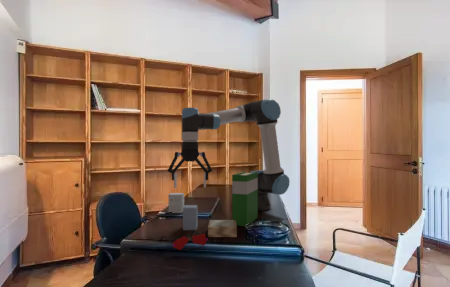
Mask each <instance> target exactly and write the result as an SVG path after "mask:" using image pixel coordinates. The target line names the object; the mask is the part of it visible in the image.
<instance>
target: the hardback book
mask: <svg viewBox="0 0 450 287" xmlns="http://www.w3.org/2000/svg"><path fill="white" fill-rule="evenodd" d="M231 178H232V179H231V184H232V187H231V190H232V191H231V192H232V193H231V196H232V198H231V199H232V201H231V205H232V207H231V212H232V217H231V218H232V219H231V220H236V225H237V226H238V227H239V226H240V227H246V226H245V225H246V224H248V223H251V222H252V223H253V222H254V221H256V220H257V219H258V174H257V172H254V173H250V172H247V171H241V172H237V173H235V174H232V175H231ZM252 223H251V224H252Z"/></svg>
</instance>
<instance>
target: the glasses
mask: <svg viewBox="0 0 450 287" xmlns="http://www.w3.org/2000/svg"><path fill="white" fill-rule="evenodd" d="M194 233H196V234H194ZM191 236H192V237H191ZM189 237H191V239H192V240H191V242H192V244H198V245H201V246H205V245H206V243H207V241H208V240H209V239H208V238H207V235H206V233H199V232H198V231H197V230H192V231H191V233H190V235H183V236H178V237H176V238H175V239H174V240H173V241H171V240H170V239H169V238H168V237H166V235H162V236H161V237H160V240H162V239H163V238H165V239H166V240H167V241H168V242H169V243H170V244H172V247H173V248H174V249H175V250H176V249H177V250H178V251H181V250H182V249H183V248H184V247H185V245H188V244H189V241H190V239H189Z"/></svg>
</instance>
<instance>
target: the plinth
mask: <svg viewBox="0 0 450 287" xmlns="http://www.w3.org/2000/svg"><path fill="white" fill-rule="evenodd" d="M237 226H238V225H236V220H232V219H209V222H208V225H207V238H237V237H238V236H237V234H238V227H237Z"/></svg>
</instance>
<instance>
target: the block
mask: <svg viewBox="0 0 450 287" xmlns="http://www.w3.org/2000/svg"><path fill="white" fill-rule="evenodd" d="M198 208H199V207H198V204H184V207H183V213H182V230H183V231H197V229H198V226H199V225H198V223H199V222H198V217H199V216H198V215H199V214H198V210H199V209H198Z"/></svg>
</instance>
